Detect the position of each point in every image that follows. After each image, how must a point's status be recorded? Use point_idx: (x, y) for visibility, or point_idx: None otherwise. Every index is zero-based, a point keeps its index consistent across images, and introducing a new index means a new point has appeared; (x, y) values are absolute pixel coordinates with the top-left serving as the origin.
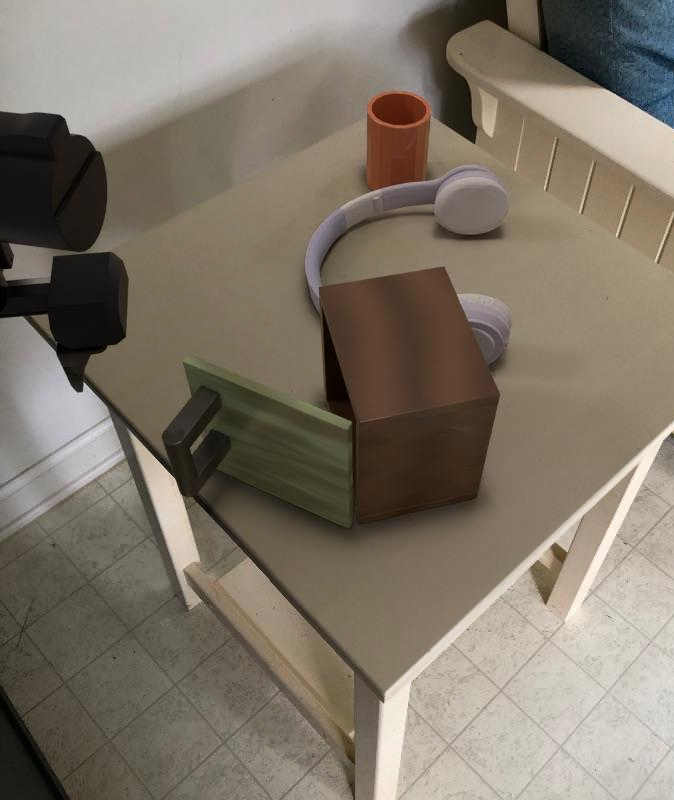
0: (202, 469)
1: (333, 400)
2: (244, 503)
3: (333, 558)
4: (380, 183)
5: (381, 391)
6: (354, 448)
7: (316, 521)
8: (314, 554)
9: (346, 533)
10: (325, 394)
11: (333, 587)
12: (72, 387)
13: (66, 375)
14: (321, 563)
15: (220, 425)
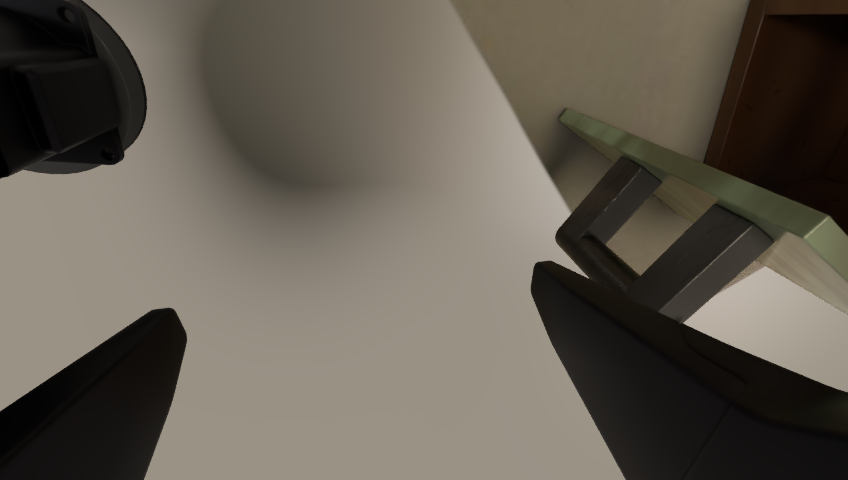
0: (608, 237)
1: (772, 16)
2: (585, 176)
3: (650, 242)
4: None
5: None
6: (748, 116)
7: (651, 202)
8: (635, 238)
9: (674, 216)
10: (774, 7)
11: (638, 269)
12: (547, 332)
13: (599, 430)
14: (637, 247)
15: (671, 184)
